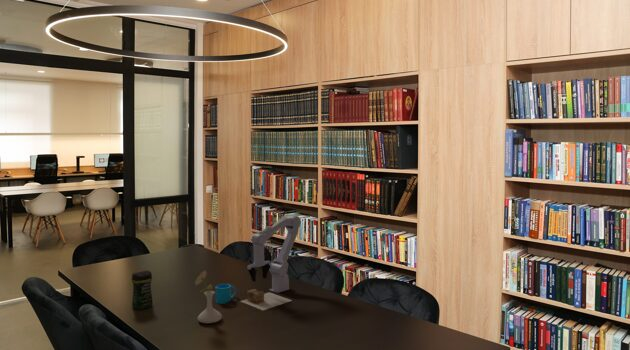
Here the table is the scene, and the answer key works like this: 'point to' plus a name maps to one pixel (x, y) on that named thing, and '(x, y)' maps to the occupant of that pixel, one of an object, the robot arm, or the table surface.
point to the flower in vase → (208, 303)
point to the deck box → (255, 296)
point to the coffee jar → (142, 290)
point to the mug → (224, 293)
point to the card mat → (268, 301)
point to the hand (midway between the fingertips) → (259, 279)
